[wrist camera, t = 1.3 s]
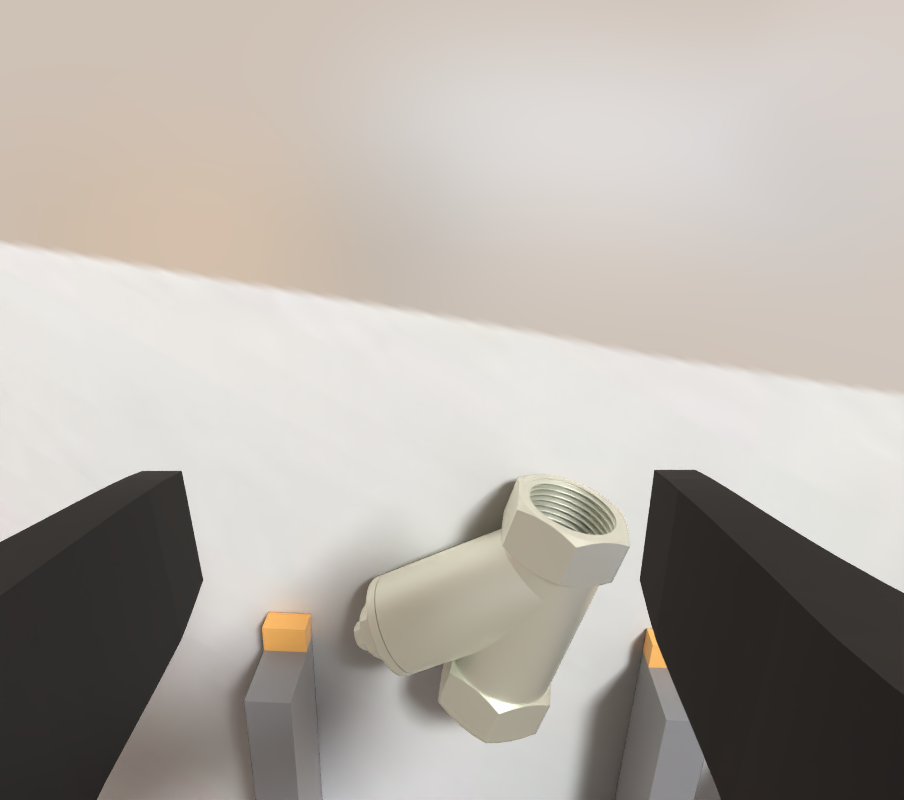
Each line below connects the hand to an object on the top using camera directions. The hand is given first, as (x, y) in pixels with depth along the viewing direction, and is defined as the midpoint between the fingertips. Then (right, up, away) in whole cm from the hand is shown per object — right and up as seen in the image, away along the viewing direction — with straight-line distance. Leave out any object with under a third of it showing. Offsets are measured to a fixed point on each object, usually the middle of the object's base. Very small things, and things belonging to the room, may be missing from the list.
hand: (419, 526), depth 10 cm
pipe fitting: (+1, -3, +13) cm, 13 cm away
